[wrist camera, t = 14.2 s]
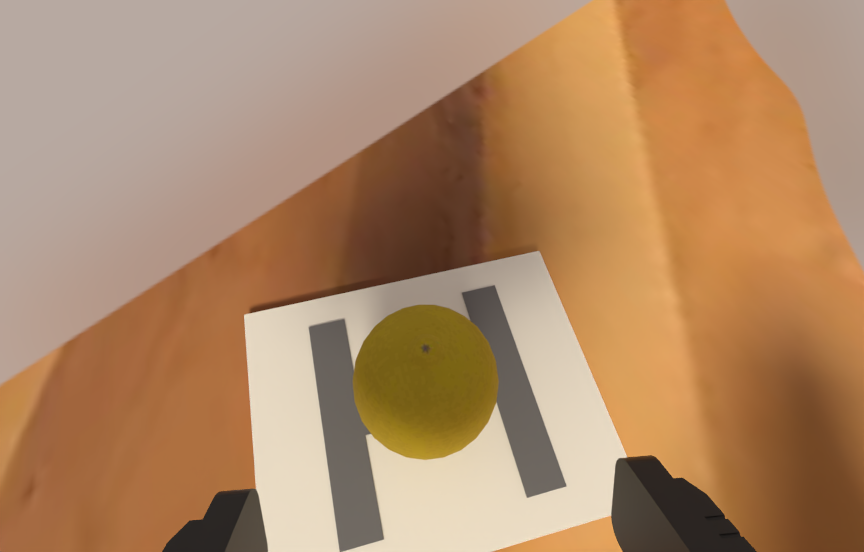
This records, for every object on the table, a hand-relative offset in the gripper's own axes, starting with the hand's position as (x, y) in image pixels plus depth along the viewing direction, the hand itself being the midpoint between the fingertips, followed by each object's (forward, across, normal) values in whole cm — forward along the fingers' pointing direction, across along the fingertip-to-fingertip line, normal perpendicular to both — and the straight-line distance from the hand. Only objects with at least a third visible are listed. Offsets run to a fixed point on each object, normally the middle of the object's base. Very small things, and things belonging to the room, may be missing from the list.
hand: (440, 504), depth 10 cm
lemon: (+10, 0, +4) cm, 11 cm away
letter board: (+11, 0, +4) cm, 12 cm away
